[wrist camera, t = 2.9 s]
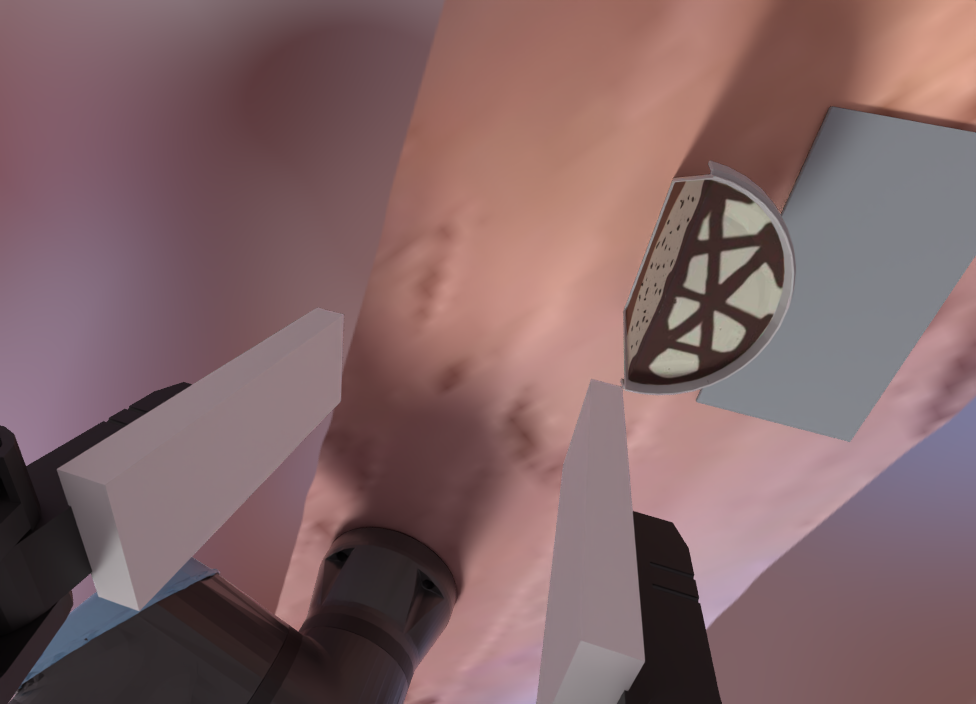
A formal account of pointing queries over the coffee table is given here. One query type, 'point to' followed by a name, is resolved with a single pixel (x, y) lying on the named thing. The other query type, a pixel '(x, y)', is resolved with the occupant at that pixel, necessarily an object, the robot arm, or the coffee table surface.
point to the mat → (861, 269)
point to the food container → (707, 285)
